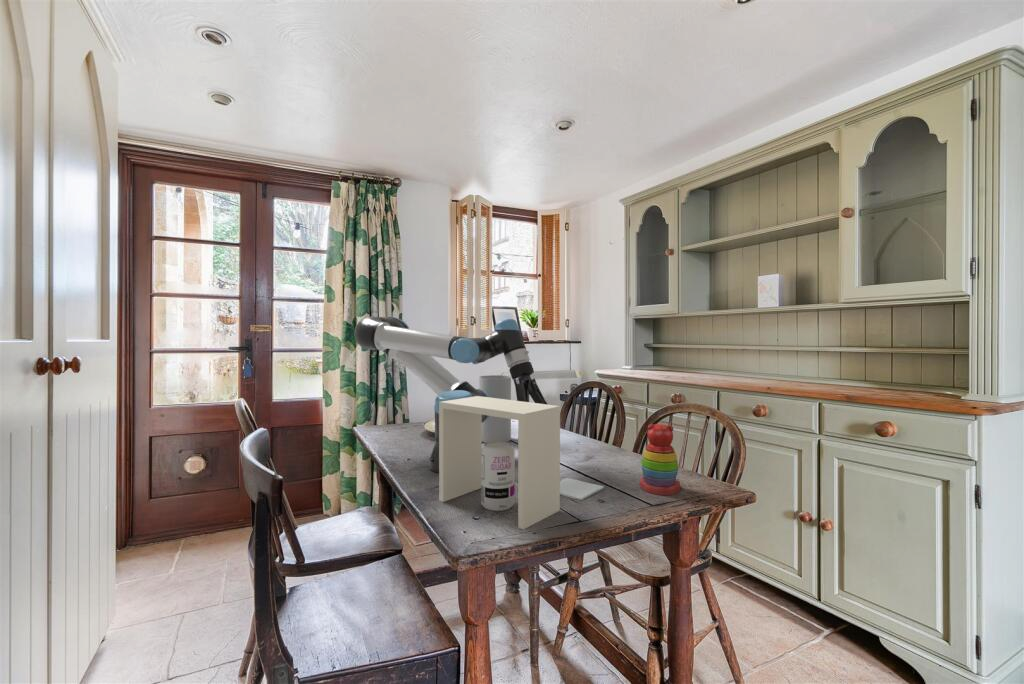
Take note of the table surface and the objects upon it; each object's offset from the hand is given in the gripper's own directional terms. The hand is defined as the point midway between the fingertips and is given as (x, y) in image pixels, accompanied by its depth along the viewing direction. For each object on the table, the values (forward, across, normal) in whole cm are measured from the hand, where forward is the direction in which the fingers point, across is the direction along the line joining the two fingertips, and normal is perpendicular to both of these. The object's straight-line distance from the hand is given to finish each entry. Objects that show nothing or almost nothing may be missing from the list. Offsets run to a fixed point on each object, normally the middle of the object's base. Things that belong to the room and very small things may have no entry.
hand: (541, 427), depth 148 cm
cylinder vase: (-3, +29, +30) cm, 42 cm away
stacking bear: (+27, -5, -28) cm, 39 cm away
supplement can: (+16, -33, +6) cm, 37 cm away
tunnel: (+16, -33, +6) cm, 37 cm away
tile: (+19, -14, -8) cm, 25 cm away
